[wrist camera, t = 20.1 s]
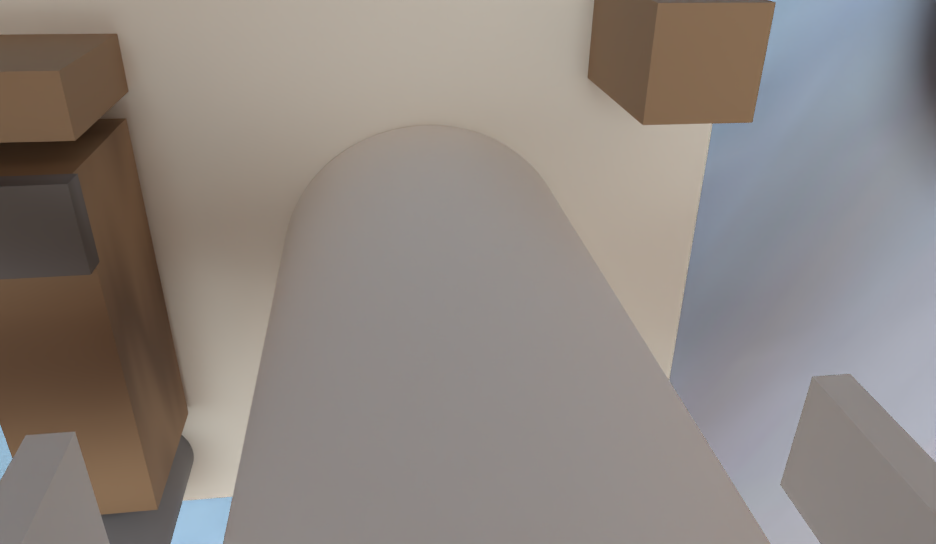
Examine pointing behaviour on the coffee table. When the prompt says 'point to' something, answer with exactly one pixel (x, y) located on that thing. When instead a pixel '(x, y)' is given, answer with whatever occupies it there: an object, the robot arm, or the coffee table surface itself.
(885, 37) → the coffee table surface
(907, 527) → the robot arm
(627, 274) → the seat board
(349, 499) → the cup
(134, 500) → the brown rectangular block
